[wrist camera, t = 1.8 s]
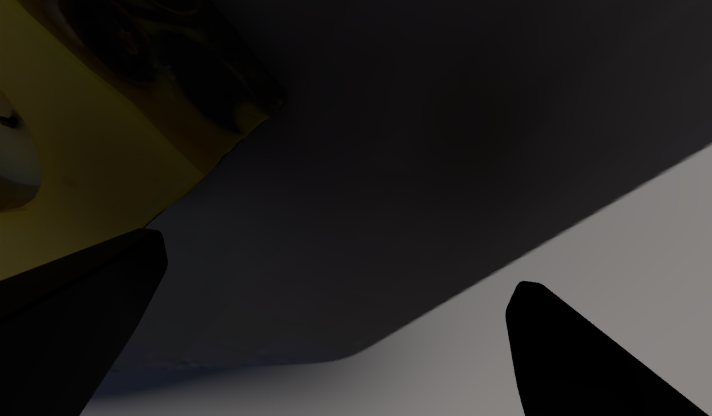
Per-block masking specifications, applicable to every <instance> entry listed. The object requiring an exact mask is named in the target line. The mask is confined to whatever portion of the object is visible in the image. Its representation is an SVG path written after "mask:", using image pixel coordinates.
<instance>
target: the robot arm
mask: <svg viewBox="0 0 712 416" xmlns="http://www.w3.org/2000/svg"><path fill="white" fill-rule="evenodd" d="M167 265H168V259H167V254H166V249H165V244H164V239H163V235H162V233H161V232H160V231H158V230H153V229H146V228H138V229H135V230H133V231H130V232H127V233H125V234H122V235H119V236H117V237H114V238H111V239H109V240H106V241H104V242H101V243H98V244H96V245H93V246H90V247H88V248H85V249H82V250H80V251H77V252H75V253H72V254H69V255H67V256H64V257H61V258H59V259H56V260H53V261H51V262H48V263H46V264H43V265H40V266H38V267H35V268H32V269H30V270H27V271H25V272H22V273H19V274H17V275H14V276H11V277H9V278H6V279H3V280H1V281H0V416H79V415H80V414H81V412H82V411H83V409H84V408H85V406H86V405H87V403H88V402H89V400H90V399H91V397H92V396H93V394H94V393H95V391H96V389H97V388H98V386H99V385H100V384H101V382H102V380H103V379H104V377H105V376H106V374H107V373H108V371H109V370H110V368H111V367H112V365H113V364H114V362H115V361H116V359H117V358H118V356H119V355H120V353H121V352H122V350H123V349H124V347H125V346H126V344H127V342H128V341H129V339H130V338H131V336H132V334H133V333H134V331H135V329H136V327H137V326H138V324H139V322H140V320H141V318H142V316H143V314H144V312H145V310H146V308H147V307H148V305H149V303H150V301H151V299H152V297H153V295H154V293H155V291H156V289H157V287H158V285H159V283H160V281H161V280H162V278H163V276H164V274H165V272H166V269H167ZM506 324H507V329H508V336H509V342H510V348H511V354H512V360H513V366H514V372H515V377H516V382H517V387H518V391H519V395H520V399H521V403H522V406H523V410H524V413H525V416H709V415H707V414H706V413H705V412H704V411H702V410H701V409H700V408H699V407H697V406H696V405H695V404H693V403H692V402H691V401H690V400H688V399H687V398H686V397H685V396H683V395H682V394H681V393H679V392H678V391H677V390H676V389H674V388H673V387H672V386H671V385H669V384H668V383H667V382H666V381H664V380H663V379H662V378H661V377H659V376H658V375H657V374H655V373H654V372H653V371H652V370H650V369H649V368H648V367H647V366H645V365H644V364H643V363H642V362H640V361H639V360H638V359H636V358H635V357H634V356H632V355H631V354H630V353H629V352H627V351H626V350H625V349H624V348H622V347H621V346H620V345H619V344H617V343H616V342H615V341H614V340H612V339H611V338H610V337H609V336H607V335H606V334H605V333H603V332H602V331H601V330H599V329H598V328H597V327H596V326H594V325H593V324H592V323H591V322H590V321H588V320H587V319H586V318H584V317H583V316H582V315H581V314H579V313H578V312H577V311H575V310H574V309H573V308H572V307H570V306H569V305H568V304H567V303H565V302H564V301H563V300H562V299H560V298H559V297H558V296H557V295H555V294H554V293H553V292H551V291H550V290H549V289H548V288H546V287H545V286H544V285H542V284H540V283H536V282H528V281H522V282H520V283H519V284H518V285H517V286H516V289H515V291H514V293H513V295H512V297H511V299H510V302H509V304H508V306H507V309H506Z"/></svg>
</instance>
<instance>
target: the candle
mask: <svg viewBox="0 0 712 416" xmlns="http://www.w3.org/2000/svg"><path fill="white" fill-rule="evenodd" d="M285 101H286V100H285V96H284V93H283V90H282V88H281V87H280V86H278V85H276V84H275V83H274V82H273V81H272V79H271V78H270V76H269V75H268V74H267V73H266V71H265V70H264V68H263V66H262V64H261V63H260V62H259V61H257V60H256V59H255V58H254V57H252V55H251V54H250V52H249V51H248V49H247V48H246V47H245V45H244V44H243V43H242V42H241V41H240V40H239V39H238V38H237V32H236V31H235V30H234V29H233V28H232V27H231V26H230V25H229V24H228V23H227V21H226V20H225V19H224V18H223V17H222V16H221V15H220V14H219V12H218V11H217V10H216V9H215V8H214V7H213V6H212V5H211V4H210V2H209V1H208V0H0V281H1V280H3V279H6V278H9V277H11V276H14V275H17V274H19V273H22V272H25V271H27V270H30V269H32V268H35V267H38V266H40V265H43V264H46V263H48V262H51V261H53V260H56V259H59V258H61V257H64V256H67V255H69V254H72V253H75V252H77V251H80V250H82V249H85V248H88V247H90V246H93V245H96V244H98V243H101V242H104V241H106V240H109V239H111V238H114V237H117V236H119V235H122V234H125V233H127V232H130V231H133V230H135V229H138V228H145V227H146V226H147V225H148V224H149V223H150V222H151V221H153V220H154V219H155V218H156V217H157V216H158V215H160V214H161V213H162V212H163V211H164V210H166V208H168V207H169V206H170V205H171V204H173V203H174V202H176V201H177V200H179V199H180V198H182V197H183V196H184V195H185V194H186V193H187V192H188V191H189V190H190V189H192V188H193V187H194V186H195V185H196V184H197V183H198V182H199V181H200V180H201V179H203V178H204V177H205V176H206V175H207V174H208V173H209V172H210V171H211V170H212V169H214V168H215V167H216V166H217V165H218V164H220V162H221V160H223V159H224V157H225V156H226V154H227V152H229V151H230V150H235V148H236V146H237V145H238V144H240V143H242V142H244V141H245V137H246V136H247V135H248V134H249V133H250V132H252V131H253V130H254V129H255V128H257V127H258V126H260V125H261V124H262V123H264V122H265V121H266V120H268V119H269V118H271V117H273V116H274V115H275V114H277V113H278V112H279V111H280V110H281V108H280V107H281V106H283V105H284V103H285Z"/></svg>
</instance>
